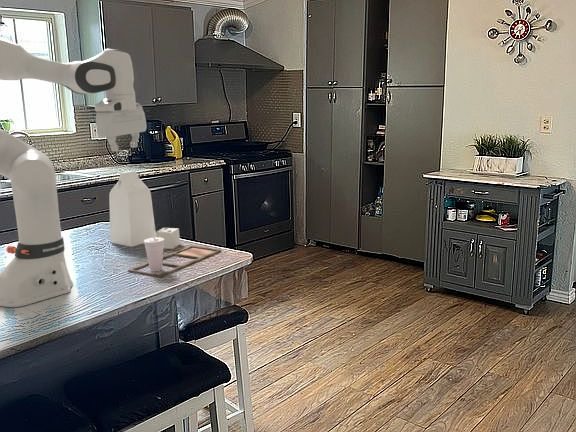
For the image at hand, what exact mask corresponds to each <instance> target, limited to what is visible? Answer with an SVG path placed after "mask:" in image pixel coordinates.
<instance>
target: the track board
mask: <svg viewBox="0 0 576 432" xmlns="http://www.w3.org/2000/svg"><path fill="white" fill-rule="evenodd" d="M221 252H222V249H217V248H211V247H204V246H203V247H202V246H197V245H190V246H187V247H184V248H182V249H179V250H176V251H173V252H171V253H168V254H166V255H163V260H165V259H167V258H170V257H173V256H175V257H180V258H187V259H193V260H191V261H189V262H186V263H184V264H181V265H180V264H175V263H167V262H164V261H163V263H162V266H167V267H172V268H171V269H169V270H166V271H164V272H162V273H159V274H158V273H153V272H147V271H143V270H140V269H142V268H145V267H147V265H148V266H149V263H148V261H147V262H144V263H142V264H140V265H138V266H135V267H131V268H130V269H129V268H128V270H127V272H128V273H133V274H139V275H143V276H144V275H145V276H149V277H155V278H159V279H160V278H163V277H165V276H167V274H168V275H169V274H172V273H174V271H175V272H176V271H180V270H181V268H182V269H184V268H187V267H188V265H189V266H191V265H194V264H196V263H198V262H200V261H203V260H205V259H208V258H209V257H212V256H215V255H216V254H217V255H218V254H219V253H221Z"/></svg>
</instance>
